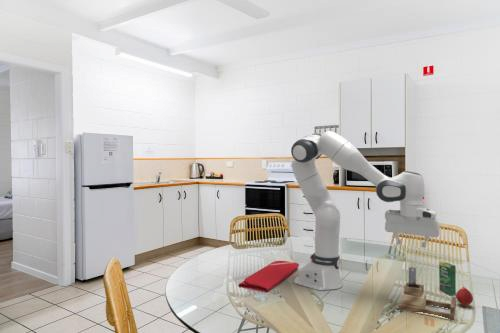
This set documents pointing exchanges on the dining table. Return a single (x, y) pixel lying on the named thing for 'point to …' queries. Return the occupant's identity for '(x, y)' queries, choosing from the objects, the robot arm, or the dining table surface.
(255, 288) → the red folded cloth
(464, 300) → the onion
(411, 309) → the bay
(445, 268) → the coffee box
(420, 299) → the crate
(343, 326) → the dining table surface
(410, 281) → the handle peg
